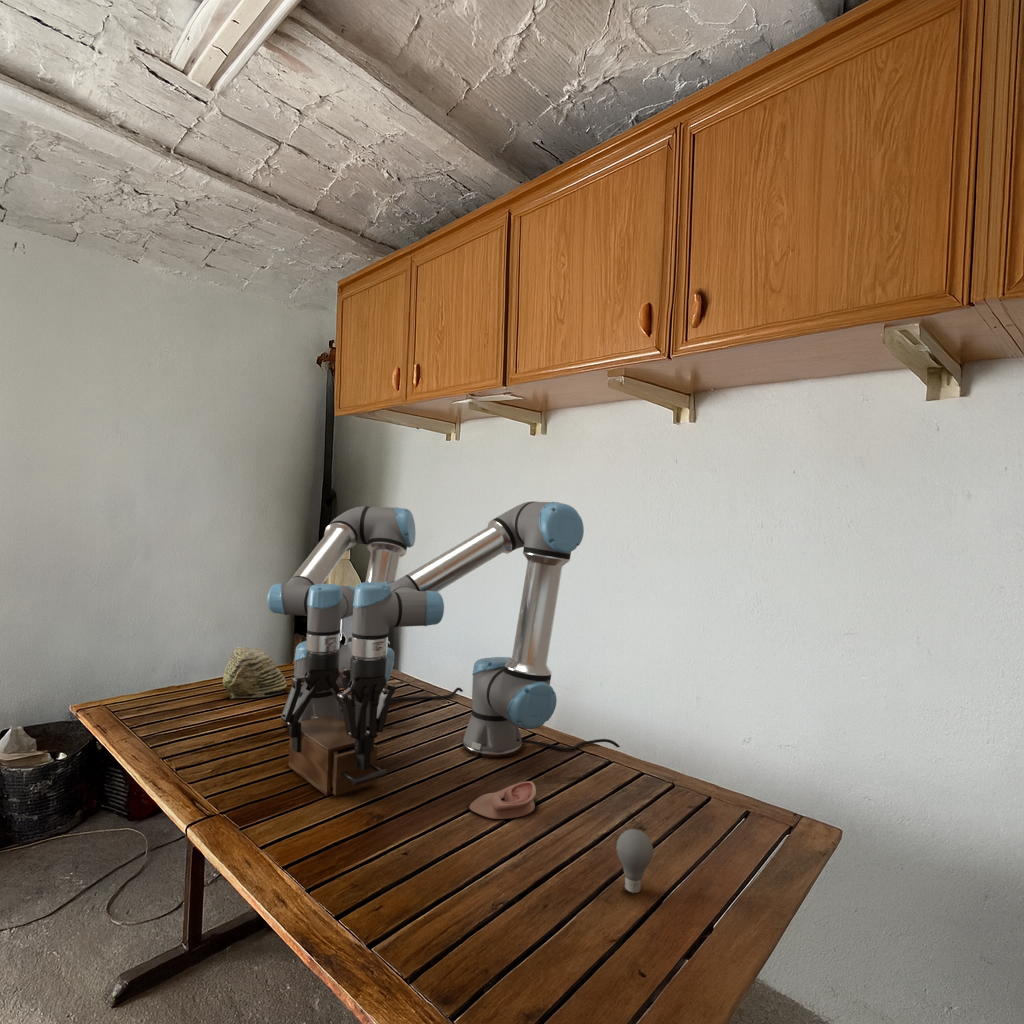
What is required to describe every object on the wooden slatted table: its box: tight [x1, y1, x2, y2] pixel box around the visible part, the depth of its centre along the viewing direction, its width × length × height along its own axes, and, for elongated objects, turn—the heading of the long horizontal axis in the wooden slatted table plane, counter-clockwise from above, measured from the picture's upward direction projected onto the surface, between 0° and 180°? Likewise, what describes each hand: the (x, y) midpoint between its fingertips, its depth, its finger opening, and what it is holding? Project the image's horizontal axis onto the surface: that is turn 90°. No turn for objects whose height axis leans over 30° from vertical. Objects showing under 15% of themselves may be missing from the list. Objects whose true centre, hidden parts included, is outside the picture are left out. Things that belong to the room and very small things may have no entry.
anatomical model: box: [468, 780, 537, 820], centre depth 133 cm, size 13×4×12 cm
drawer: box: [330, 744, 388, 796], centre depth 140 cm, size 24×10×8 cm, turn 44°
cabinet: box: [288, 715, 366, 797], centre depth 145 cm, size 19×11×10 cm, turn 44°
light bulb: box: [615, 828, 654, 894], centre depth 106 cm, size 6×6×10 cm
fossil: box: [222, 646, 288, 699], centre depth 198 cm, size 9×18×15 cm, turn 132°
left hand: (319, 744), depth 148 cm, fingers closed on cabinet, 11 cm apart
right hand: (363, 767), depth 133 cm, fingers closed
